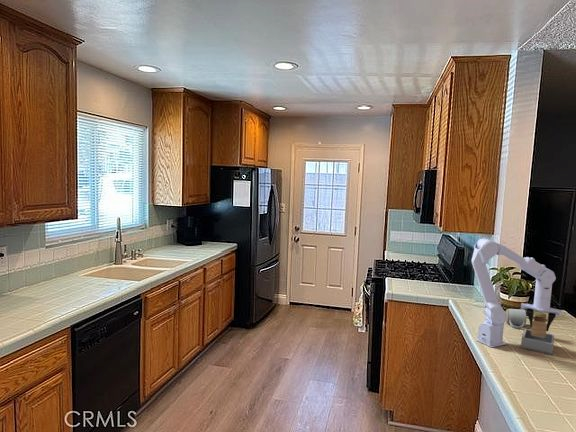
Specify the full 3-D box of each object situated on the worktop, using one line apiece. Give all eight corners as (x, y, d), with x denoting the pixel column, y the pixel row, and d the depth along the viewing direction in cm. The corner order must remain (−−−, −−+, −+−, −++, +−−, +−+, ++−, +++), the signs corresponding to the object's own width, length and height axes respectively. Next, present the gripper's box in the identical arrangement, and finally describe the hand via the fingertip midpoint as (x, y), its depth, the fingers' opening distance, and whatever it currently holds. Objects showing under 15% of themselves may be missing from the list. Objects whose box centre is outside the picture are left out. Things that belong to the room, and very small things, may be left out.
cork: (530, 332, 188) (533, 309, 187) (546, 336, 184) (548, 312, 183) (528, 336, 183) (530, 312, 182) (544, 340, 179) (546, 315, 178)
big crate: (552, 355, 164) (553, 344, 163) (520, 348, 170) (521, 337, 169) (553, 345, 174) (554, 334, 174) (523, 338, 180) (524, 328, 180)
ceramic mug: (504, 320, 203) (505, 305, 203) (523, 323, 201) (524, 307, 200) (507, 328, 193) (509, 312, 193) (527, 330, 191) (529, 314, 190)
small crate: (545, 338, 166) (546, 323, 165) (531, 335, 169) (532, 320, 168) (546, 331, 173) (547, 317, 173) (532, 328, 176) (534, 315, 176)
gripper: (521, 295, 171) (518, 327, 172) (563, 302, 163) (559, 335, 164) (523, 291, 176) (520, 322, 178) (563, 298, 168) (560, 330, 170)
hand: (539, 328), depth 171 cm, fingers closed on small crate, 5 cm apart
